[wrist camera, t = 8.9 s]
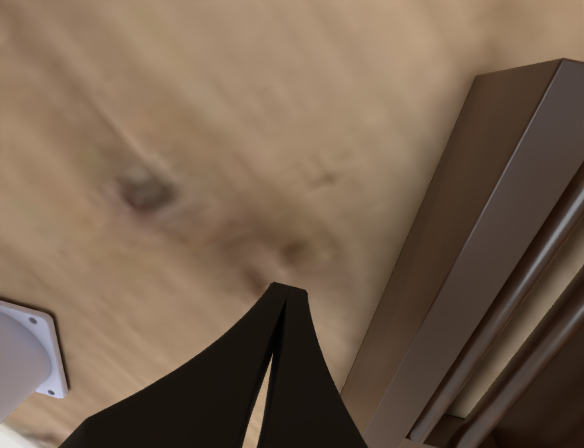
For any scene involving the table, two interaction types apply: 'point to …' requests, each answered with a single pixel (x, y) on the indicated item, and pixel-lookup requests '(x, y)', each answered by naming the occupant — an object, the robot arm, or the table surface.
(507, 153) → the rack
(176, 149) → the table surface
